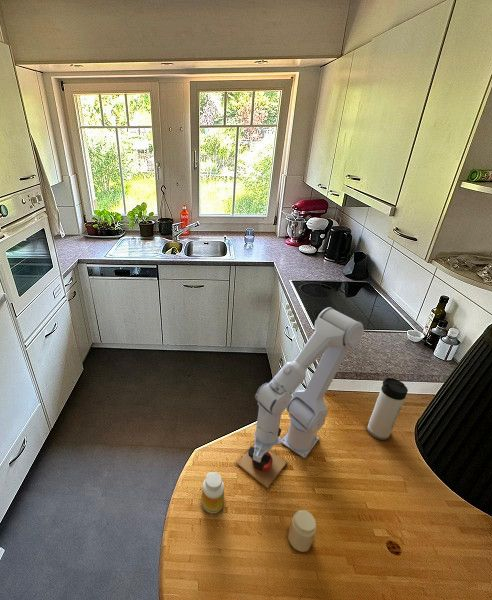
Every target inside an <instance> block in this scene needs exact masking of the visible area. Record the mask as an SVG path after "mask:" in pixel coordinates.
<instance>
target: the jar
mask: <svg viewBox="0 0 492 600" xmlns="http://www.w3.org/2000/svg"><path fill="white" fill-rule="evenodd" d="M316 532H317V522H316V519H315V516H313V514H312V513H311V512H310V511H308V510H305V509H299V510H297V511H296V512H295V513H294V514H293V515H292V518H291V522H290V525H289V530H288V535H287V538H288V541H289V543H290V545H291V546H292V548H293V549H295V551H299V552H300V553H301V552H302V553H304V552H308V551H309V550H310V549H311V547H312V544H313V541H314V538H315V535H316Z"/></svg>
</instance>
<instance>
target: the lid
mask: <svg viewBox="0 0 492 600" xmlns="http://www.w3.org/2000/svg"><path fill="white" fill-rule="evenodd" d="M265 454H266V455H268V456H270V457H271V458H270V461H269V463H268V464H266V465H265V466H264V468H263V470H262V471H261V472H267V471H269V470H270V469H271V467H272V462H273V459H272V456H271V455H270V454H269V453H268V452H266V453H265ZM252 465H253V467H254V464H253V461H252ZM256 470H257V469H256ZM258 471H260V470H258Z"/></svg>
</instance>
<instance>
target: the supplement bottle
mask: <svg viewBox="0 0 492 600" xmlns="http://www.w3.org/2000/svg"><path fill="white" fill-rule="evenodd" d="M222 478H223V477H222V476H221V475H220V473H218V472H216V471H211V472H208V473H207V474H206V476H205V479H204V480H203V482H202V488H201V489H202V491H201V504H202V507H203V509H204V510H205V511H206V512H207V513H209V514H216V513H219V512H220V511H221V510H222V508H223V506H224V499H225V498H224V497H225V484H224V482H223V479H222Z"/></svg>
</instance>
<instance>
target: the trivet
mask: <svg viewBox="0 0 492 600" xmlns="http://www.w3.org/2000/svg"><path fill="white" fill-rule="evenodd" d="M252 447H253V448H255V444H254V445H253V446H252ZM248 452H249V450H248V451H247V452H246V453H245V454H244V455H243V456H242V457H241V458H240V460H239V461H238V462H237V463H236V465H237V466H239V467H240V468H241V469H242V470H243V471H244V472H246V473H247V474H248V475H249V476H251V477H252V478H253V479H255V480H256V481H257V482H259V483H260V484H261V485H262V486H264V488H266V489H268V488H269V487H270V486H271V485H272V483H273V482H274V480H275V479H276V478H277V476H279V474H280V473H281V472H282V470H283V469H284V467H286V465H287V461H285V460H284V459H282V457H280V456H278V455H277V454H275V453H274V452H273V451H272V450H271V449H270V450H269V451H267V452H268V453H269V454H270V455H271V456H272V459H273V462H272V467H271V469H270V470H269V471H267V472H261V471H258V470H256V469H255V468H254V467H253V465H252V459H251V457H250V456H249V455H248Z"/></svg>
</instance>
